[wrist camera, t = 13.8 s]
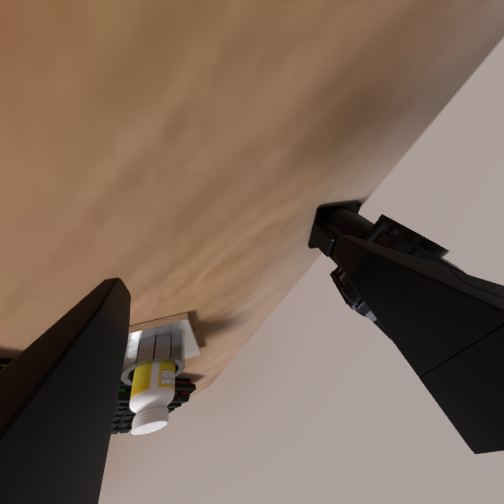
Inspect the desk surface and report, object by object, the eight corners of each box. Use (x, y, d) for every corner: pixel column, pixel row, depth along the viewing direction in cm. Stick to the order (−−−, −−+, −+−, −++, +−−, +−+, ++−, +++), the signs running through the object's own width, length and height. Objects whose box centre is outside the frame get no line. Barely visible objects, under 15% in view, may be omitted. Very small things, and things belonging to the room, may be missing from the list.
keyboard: (196, 375, 44) (197, 401, 40) (149, 406, 47) (147, 432, 43) (-153, 330, 17) (-246, 393, 13) (-208, 409, 20) (-297, 479, 16)
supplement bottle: (137, 359, 30) (123, 441, 23) (139, 341, 27) (123, 427, 20) (173, 355, 32) (170, 428, 25) (178, 338, 30) (176, 414, 22)
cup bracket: (187, 312, 28) (188, 341, 25) (200, 348, 36) (202, 374, 32) (97, 333, 26) (84, 370, 22) (131, 367, 33) (126, 399, 30)
